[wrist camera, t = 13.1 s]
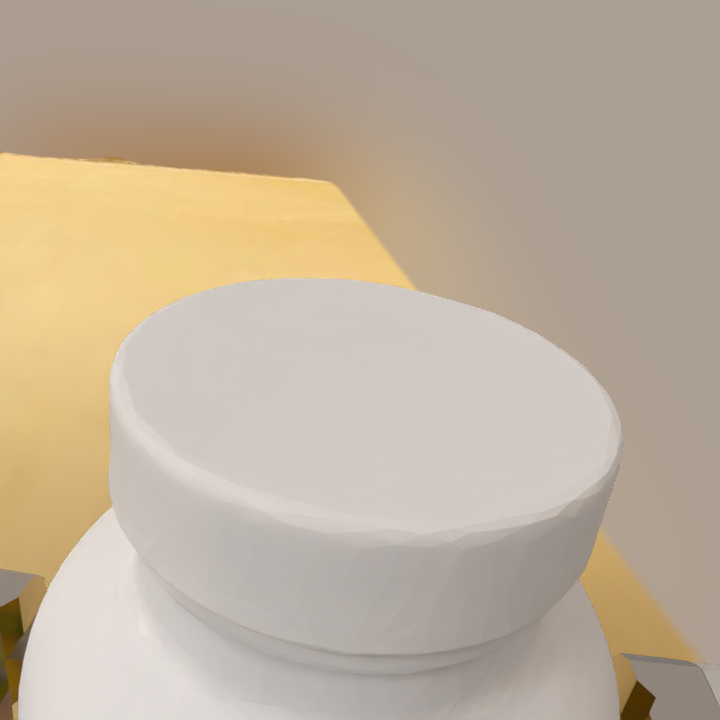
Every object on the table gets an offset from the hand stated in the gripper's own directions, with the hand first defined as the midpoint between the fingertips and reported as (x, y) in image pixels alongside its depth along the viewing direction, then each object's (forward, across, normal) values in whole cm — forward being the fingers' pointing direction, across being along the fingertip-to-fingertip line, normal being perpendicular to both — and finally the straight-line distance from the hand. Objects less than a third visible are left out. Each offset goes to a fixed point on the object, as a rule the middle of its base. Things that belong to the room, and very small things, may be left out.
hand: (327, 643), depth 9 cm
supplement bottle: (-1, 0, +8) cm, 8 cm away
